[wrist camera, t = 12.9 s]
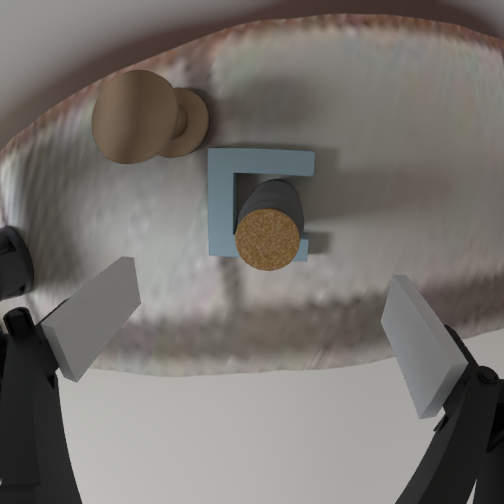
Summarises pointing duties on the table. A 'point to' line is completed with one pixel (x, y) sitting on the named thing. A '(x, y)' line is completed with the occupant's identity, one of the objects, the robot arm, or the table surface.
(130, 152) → the wooden spool
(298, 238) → the bottle
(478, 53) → the table surface
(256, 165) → the bracket
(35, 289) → the table surface
